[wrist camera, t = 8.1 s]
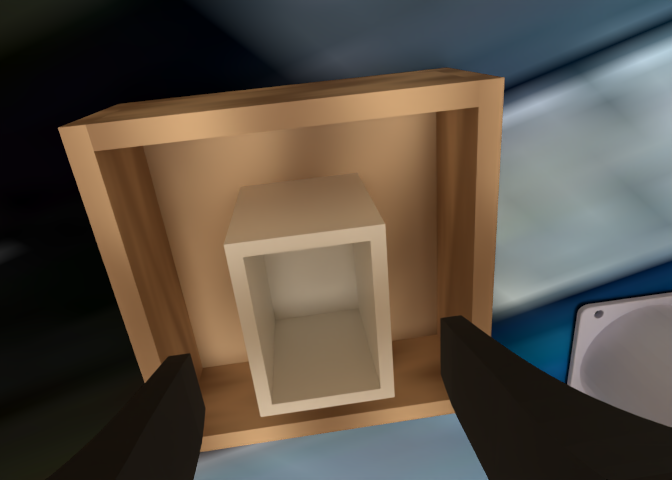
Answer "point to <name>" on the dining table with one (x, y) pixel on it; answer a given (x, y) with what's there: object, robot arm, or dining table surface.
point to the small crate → (312, 293)
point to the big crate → (287, 165)
